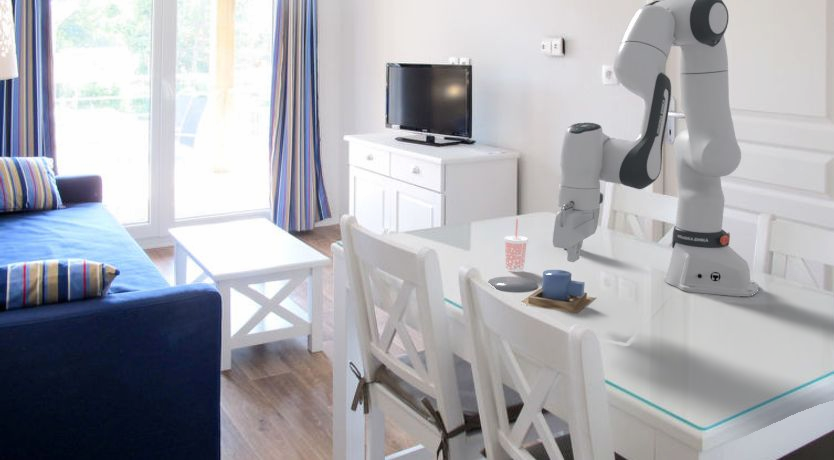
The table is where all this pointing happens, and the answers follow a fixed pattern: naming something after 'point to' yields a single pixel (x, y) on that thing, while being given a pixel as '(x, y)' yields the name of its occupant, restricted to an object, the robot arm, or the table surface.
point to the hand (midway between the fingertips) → (573, 260)
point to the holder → (559, 302)
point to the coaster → (513, 284)
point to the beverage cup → (515, 251)
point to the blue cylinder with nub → (560, 286)
